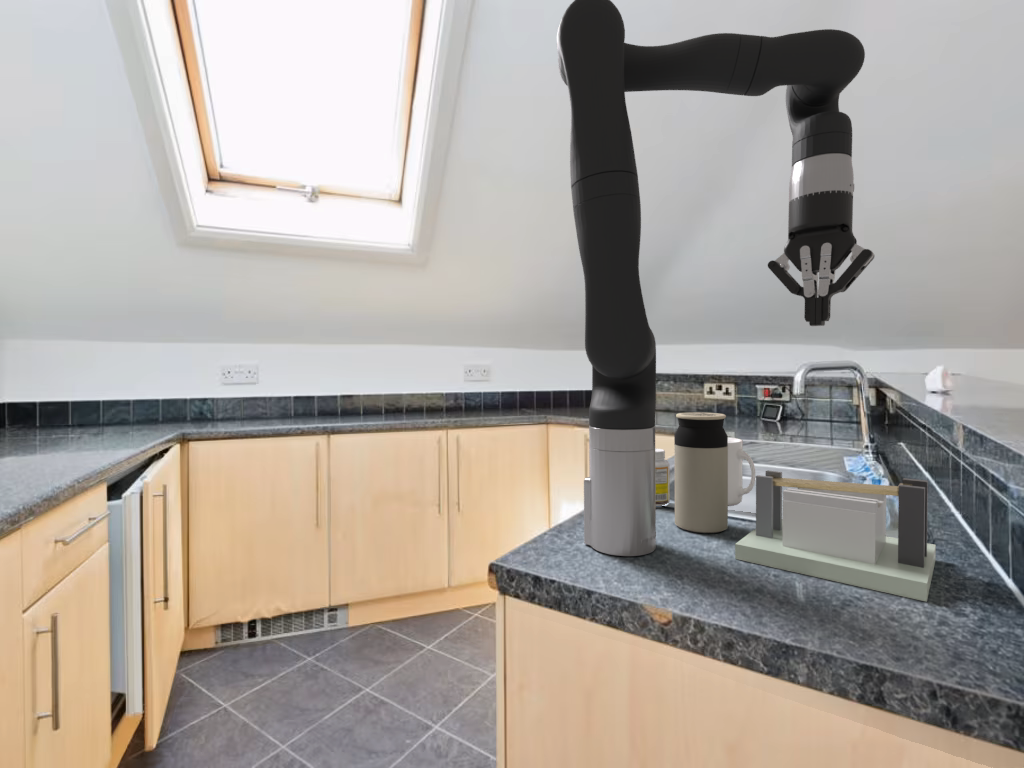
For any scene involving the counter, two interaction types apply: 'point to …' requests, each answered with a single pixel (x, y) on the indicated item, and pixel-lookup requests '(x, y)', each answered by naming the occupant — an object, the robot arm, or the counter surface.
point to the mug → (737, 471)
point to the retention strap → (838, 486)
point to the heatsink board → (843, 567)
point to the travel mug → (701, 472)
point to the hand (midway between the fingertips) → (817, 325)
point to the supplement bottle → (662, 478)
